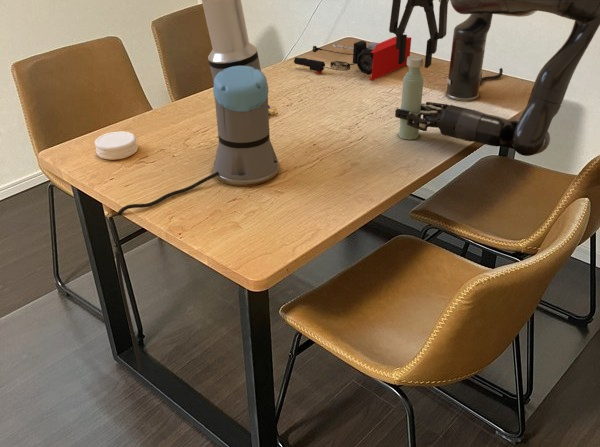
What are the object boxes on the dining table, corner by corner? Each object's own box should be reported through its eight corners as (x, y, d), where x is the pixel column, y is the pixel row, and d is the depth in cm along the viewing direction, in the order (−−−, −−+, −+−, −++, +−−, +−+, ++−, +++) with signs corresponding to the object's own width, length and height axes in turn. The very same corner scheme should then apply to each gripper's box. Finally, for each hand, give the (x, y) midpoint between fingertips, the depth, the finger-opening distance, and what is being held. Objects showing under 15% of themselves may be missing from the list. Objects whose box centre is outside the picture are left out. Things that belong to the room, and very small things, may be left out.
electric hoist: (292, 37, 203) (372, 52, 188) (336, 23, 221) (412, 36, 206) (292, 68, 208) (370, 85, 193) (335, 52, 226) (409, 66, 211)
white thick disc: (108, 164, 149) (105, 151, 148) (90, 151, 156) (87, 138, 154) (145, 152, 155) (143, 139, 153) (126, 139, 161) (123, 127, 159)
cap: (413, 68, 149) (414, 61, 148) (403, 64, 152) (403, 57, 151) (425, 65, 151) (426, 58, 150) (415, 61, 154) (415, 54, 153)
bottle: (401, 140, 159) (407, 64, 149) (396, 132, 163) (402, 58, 153) (420, 139, 160) (427, 63, 149) (415, 131, 164) (422, 57, 153)
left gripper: (377, -38, 140) (372, 63, 152) (460, -31, 132) (448, 74, 145) (389, -43, 146) (383, 55, 158) (469, -37, 138) (457, 65, 150)
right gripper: (477, 100, 154) (415, 87, 162) (453, 119, 144) (388, 104, 152) (473, 128, 158) (412, 113, 166) (449, 148, 148) (386, 132, 156)
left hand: (414, 64), depth 151 cm, fingers open, 6 cm apart
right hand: (401, 109), depth 159 cm, fingers closed on bottle, 5 cm apart
